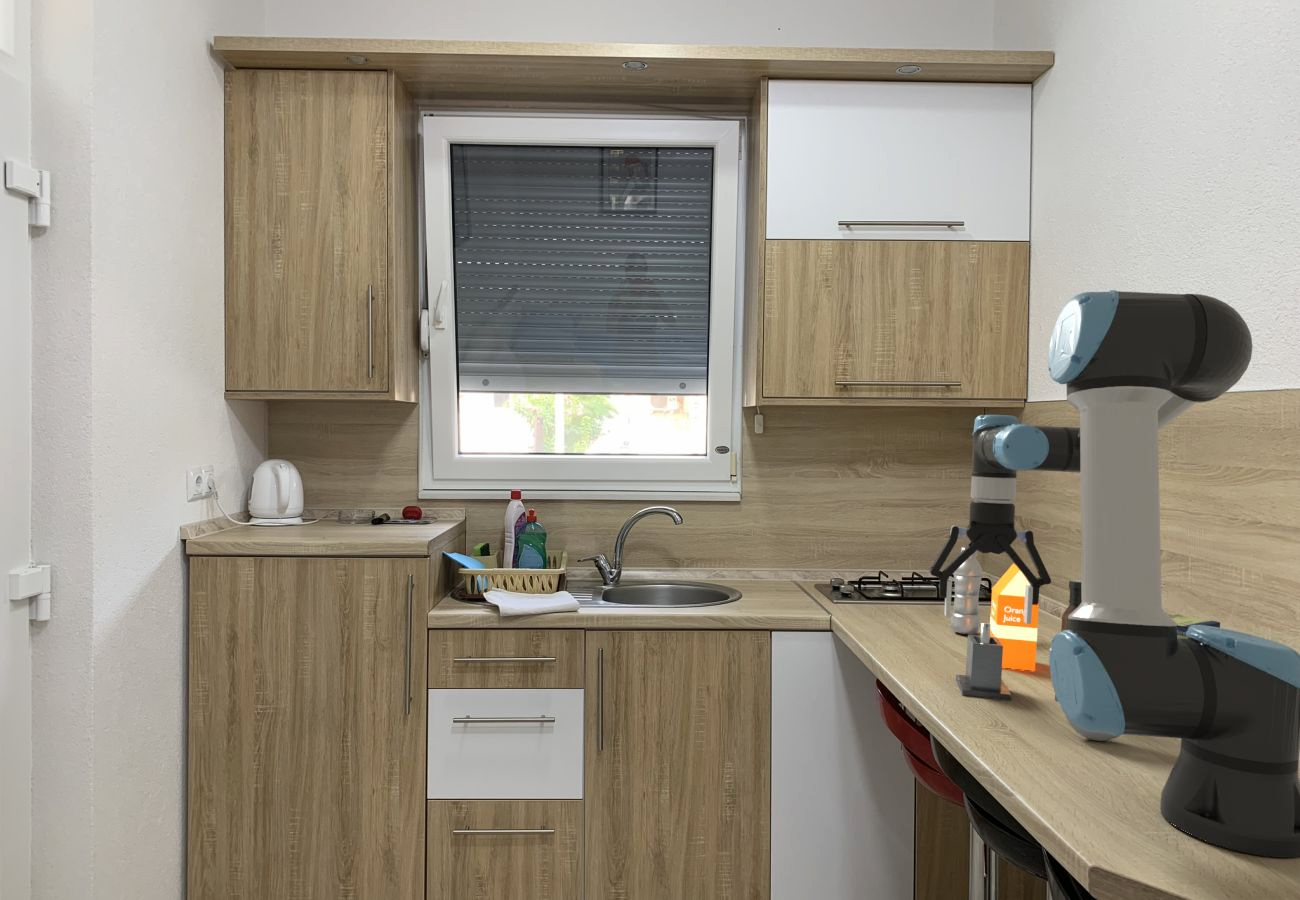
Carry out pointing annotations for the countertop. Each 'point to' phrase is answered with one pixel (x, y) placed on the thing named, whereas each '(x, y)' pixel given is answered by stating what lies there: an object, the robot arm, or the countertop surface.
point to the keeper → (981, 692)
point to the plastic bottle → (967, 596)
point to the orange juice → (1013, 621)
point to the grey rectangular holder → (984, 663)
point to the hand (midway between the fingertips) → (986, 619)
